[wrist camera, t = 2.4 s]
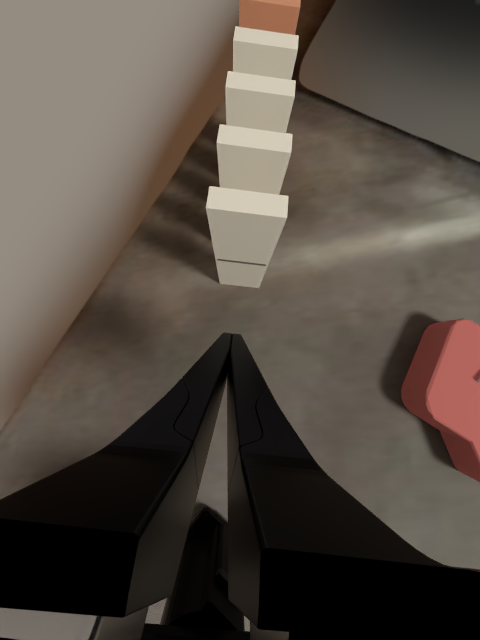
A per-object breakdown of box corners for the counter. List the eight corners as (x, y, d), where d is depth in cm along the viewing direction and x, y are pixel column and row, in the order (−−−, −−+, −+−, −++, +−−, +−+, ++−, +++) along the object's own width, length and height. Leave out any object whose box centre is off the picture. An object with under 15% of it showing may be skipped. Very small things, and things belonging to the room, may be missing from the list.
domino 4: (267, 189, 26) (297, 50, 14) (232, 185, 25) (233, 40, 14) (268, 180, 26) (298, 35, 14) (234, 175, 26) (235, 26, 14)
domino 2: (262, 252, 24) (291, 153, 12) (224, 248, 24) (216, 143, 12) (263, 241, 24) (292, 133, 12) (226, 236, 24) (219, 123, 12)
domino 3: (264, 219, 25) (294, 97, 13) (228, 215, 25) (225, 87, 13) (265, 209, 25) (295, 80, 13) (230, 204, 25) (228, 70, 13)
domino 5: (270, 161, 27) (300, 7, 15) (236, 156, 26) (239, -1, 15) (270, 152, 27) (300, -6, 15) (237, 147, 27) (241, -14, 15)
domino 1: (258, 288, 23) (287, 218, 11) (219, 283, 23) (205, 208, 11) (259, 276, 23) (288, 195, 11) (221, 271, 23) (209, 185, 11)
